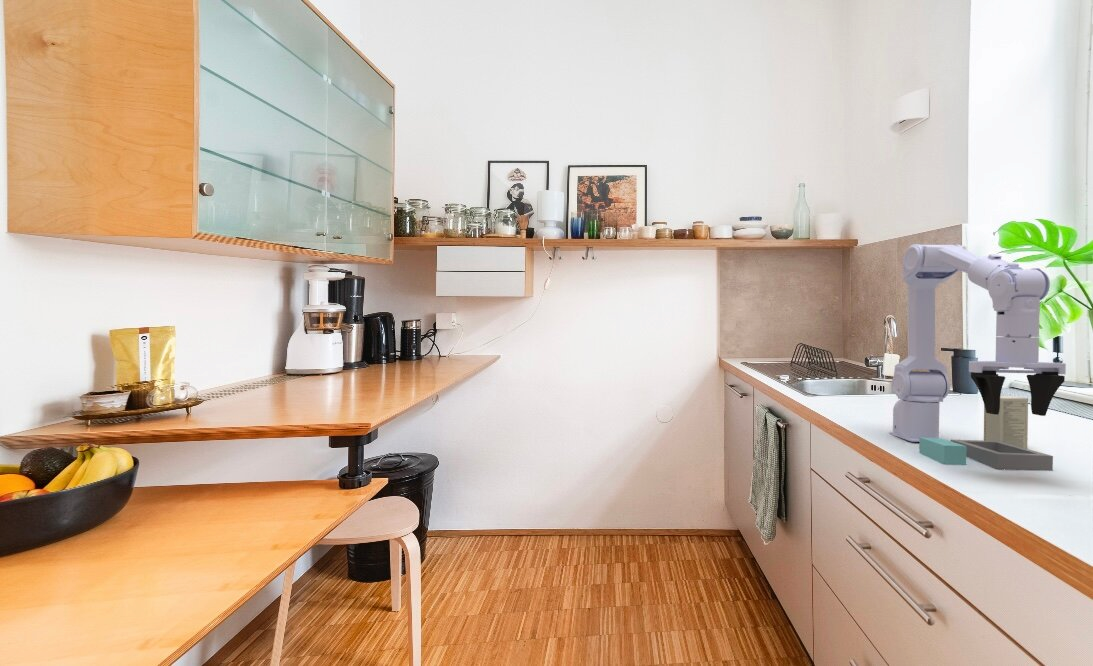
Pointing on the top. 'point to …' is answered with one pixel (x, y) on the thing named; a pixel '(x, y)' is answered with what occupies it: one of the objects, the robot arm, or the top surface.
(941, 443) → the peg
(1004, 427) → the skincare box
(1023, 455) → the socket block
